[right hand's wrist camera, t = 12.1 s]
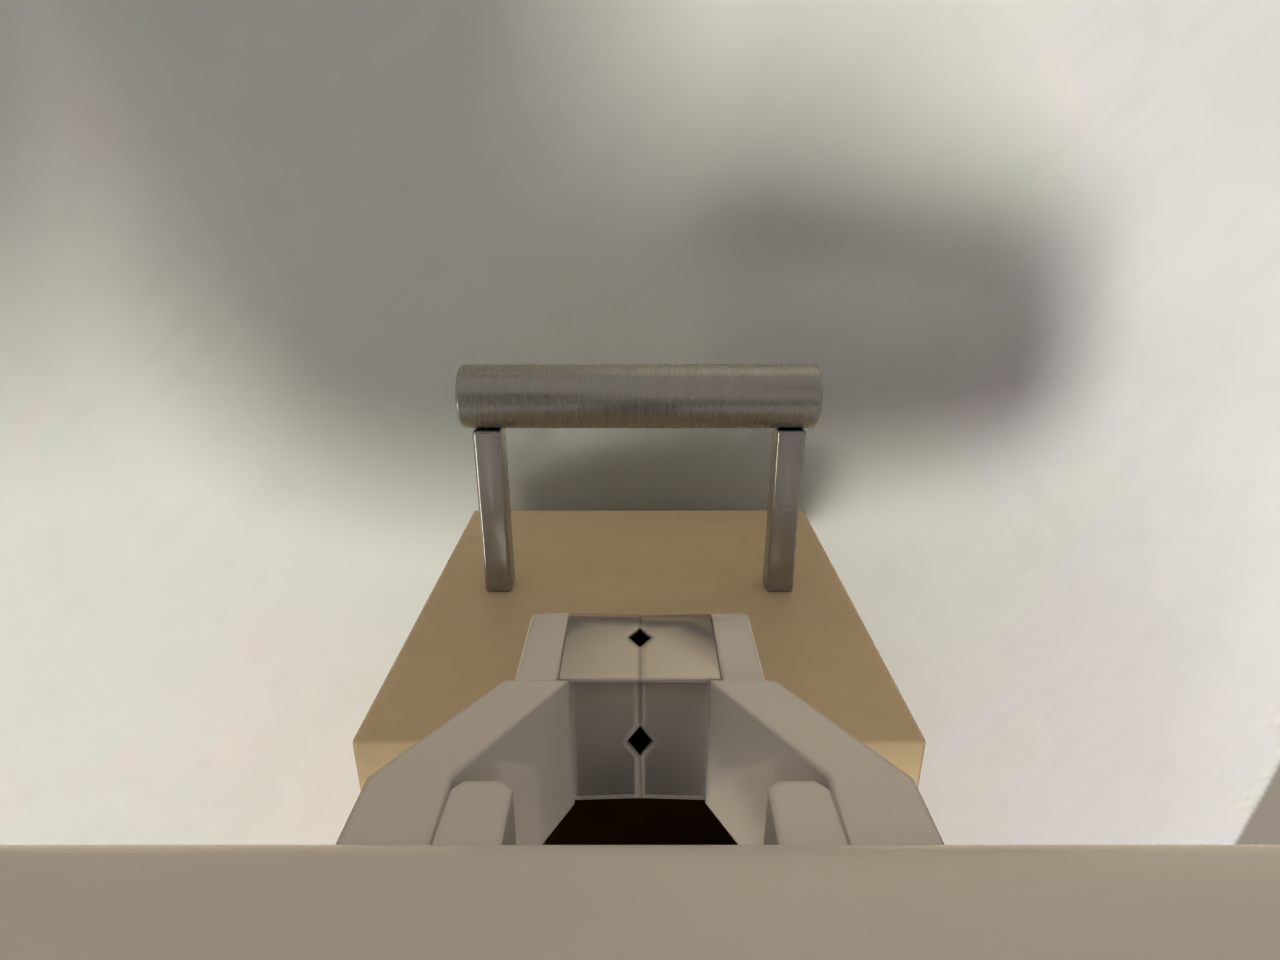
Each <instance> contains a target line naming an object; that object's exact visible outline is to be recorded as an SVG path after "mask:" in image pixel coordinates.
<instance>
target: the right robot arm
mask: <svg viewBox="0 0 1280 960" xmlns="http://www.w3.org/2000/svg"><path fill="white" fill-rule="evenodd" d="M624 798H655V799H691V800H705V803H706V804H707V806H708V807H709V808H710V810H711V811H712V812H713V813H714V815H715V816H716V817H717V818H718V820H719V821H720V822H721V824H722V825H723V826H724V827H725V829H726V830H727V831H728V832H729V834H730V835H731V836H732V838H733V839H734V840H735V841H736V843H737V844H738V845H542V844H543V843H544V842H545V841H546V839H547V838H548V837H549V836H550V834H551V833H552V832H553V830H554V829H555V828H556V827H557V825H558V824H559V823H560V822H561V820H562V819H563V818H564V817H565V815H566V814H567V813H568V811H569V810H570V809H571V808H572V806H573V805H574V804H575V800H589V799H624ZM0 960H1280V845H944V843H943V841H942V838H941V836H940V834H939V832H938V830H937V828H936V826H935V824H934V821H933V819H932V817H931V815H930V813H929V811H928V809H927V807H926V805H925V802H924V800H923V798H922V796H921V794H920V792H919V790H918V788H917V786H916V783H915V781H914V779H913V778H911V777H910V776H909V775H907V774H906V773H904V772H903V771H902V770H900V769H899V768H897V767H896V766H895V765H893V764H892V763H890V762H889V761H888V760H886V759H885V758H883V757H882V756H881V755H879V754H878V753H876V752H875V751H874V750H872V749H871V748H869V747H868V746H867V745H865V744H864V743H862V742H861V741H860V740H858V739H857V738H855V737H854V736H853V735H851V734H850V733H848V732H847V731H846V730H844V729H843V728H841V727H840V726H839V725H837V724H836V723H834V722H833V721H832V720H830V719H829V718H827V717H826V716H825V715H823V714H822V713H820V712H819V711H818V710H816V709H815V708H813V707H812V706H811V705H809V704H808V703H806V702H805V701H804V700H802V699H801V698H799V697H798V696H797V695H795V694H794V693H792V692H791V691H790V690H788V689H787V688H785V687H784V686H783V685H781V684H780V683H778V682H777V681H775V680H765V678H764V674H763V670H762V666H761V663H760V659H759V655H758V651H757V648H756V644H755V640H754V636H753V633H752V629H751V625H750V621H749V618H748V615H747V614H745V613H723V614H682V615H642V616H640V615H626V614H574V613H571V614H570V615H569V613H535V614H534V615H533V616H532V617H531V621H530V624H529V628H528V632H527V636H526V640H525V643H524V647H523V651H522V655H521V658H520V662H519V666H518V670H517V674H516V677H515V680H505V681H503V682H502V683H500V684H499V685H497V686H496V687H495V688H493V689H492V690H490V691H489V692H488V693H486V694H485V695H483V696H482V697H480V698H479V699H478V700H476V701H475V702H473V703H472V704H471V705H469V706H468V707H466V708H465V709H464V710H462V711H461V712H459V713H458V714H457V715H455V716H454V717H452V718H451V719H450V720H448V721H447V722H445V723H444V724H442V725H441V726H440V727H438V728H437V729H435V730H434V731H433V732H431V733H430V734H428V735H427V736H426V737H424V738H423V739H421V740H420V741H419V742H417V743H416V744H414V745H413V746H412V747H410V748H409V749H407V750H406V751H405V752H403V753H402V754H400V755H399V756H397V757H396V758H395V759H393V760H392V761H390V762H389V763H388V764H386V765H385V766H383V767H382V768H381V769H379V770H378V771H376V772H375V773H374V774H372V775H371V776H369V777H368V778H367V780H366V782H365V784H364V786H363V788H362V790H361V793H360V795H359V797H358V799H357V801H356V803H355V805H354V807H353V809H352V811H351V813H350V815H349V818H348V820H347V822H346V824H345V826H344V828H343V830H342V832H341V834H340V836H339V838H338V841H337V843H336V845H0Z"/></svg>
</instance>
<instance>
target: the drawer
mask: <svg viewBox="0 0 1280 960" xmlns="http://www.w3.org/2000/svg"><path fill="white" fill-rule="evenodd" d="M455 399H456V409H457V415H458V419H459V422H460V424H461V426H462V427H464V428H475V429H474V431H473V443H474V455H475V466H476V478H477V490H478V502H479V511H475V512H474V513H473V515H472V517H471V519H470V521H469V523H468V525H467V527H466V528H465V530H464V532H463V534H462V536H461V538H460V540H459V542H458V544H457V545H456V547H455V549H454V551H453V553H452V555H451V557H450V559H449V561H448V562H447V564H446V566H445V568H444V570H443V572H442V574H441V576H440V578H439V579H438V581H437V583H436V585H435V587H434V589H433V591H432V593H431V594H430V596H429V598H428V600H427V602H426V604H425V606H424V608H423V610H422V611H421V613H420V615H419V617H418V619H417V621H416V623H415V625H414V627H413V628H412V630H411V632H410V634H409V636H408V638H407V640H406V642H405V643H404V645H403V647H402V649H401V651H400V653H399V655H398V657H397V659H396V660H395V662H394V664H393V666H392V668H391V670H390V672H389V674H388V676H387V677H386V679H385V681H384V683H383V685H382V687H381V689H380V691H379V693H378V694H377V696H376V698H375V700H374V702H373V704H372V706H371V708H370V709H369V711H368V713H367V715H366V717H365V719H364V721H363V723H362V725H361V726H360V728H359V730H358V732H357V734H356V736H355V738H354V740H353V748H354V754H355V760H356V765H357V771H358V777H359V783H360V788H361V790H362V788H363V786H364V784H365V782H366V780H367V778H368V777H369V776H371V775H372V774H374V773H375V772H376V771H378V770H379V769H381V768H382V767H383V766H385V765H386V764H388V763H389V762H390V761H392V760H393V759H395V758H396V757H397V756H399V755H400V754H402V753H403V752H405V751H406V750H407V749H409V748H410V747H412V746H413V745H414V744H416V743H417V742H419V741H420V740H421V739H423V738H424V737H426V736H427V735H428V734H430V733H431V732H433V731H434V730H435V729H437V728H438V727H440V726H441V725H442V724H444V723H445V722H447V721H448V720H450V719H451V718H452V717H454V716H455V715H457V714H458V713H459V712H461V711H462V710H464V709H465V708H466V707H468V706H469V705H471V704H472V703H473V702H475V701H476V700H478V699H479V698H480V697H482V696H483V695H485V694H486V693H488V692H489V691H490V690H492V689H493V688H495V687H496V686H497V685H499V684H500V683H502V682H503V681H505V680H515V677H516V674H517V670H518V666H519V662H520V658H521V655H522V651H523V647H524V643H525V640H526V636H527V632H528V628H529V624H530V621H531V617H532V616H533V615H534V614H535V613H569V615H570V614H571V613H574V614H626V615H640V616H642V615H682V614H723V613H745V614H747V615H748V618H749V621H750V625H751V629H752V633H753V636H754V640H755V644H756V648H757V651H758V655H759V659H760V663H761V666H762V670H763V674H764V678H765V680H775V681H777V682H778V683H780V684H781V685H783V686H784V687H785V688H787V689H788V690H790V691H791V692H792V693H794V694H795V695H797V696H798V697H799V698H801V699H802V700H804V701H805V702H806V703H808V704H809V705H811V706H812V707H813V708H815V709H816V710H818V711H819V712H820V713H822V714H823V715H825V716H826V717H827V718H829V719H830V720H832V721H833V722H834V723H836V724H837V725H839V726H840V727H841V728H843V729H844V730H846V731H847V732H848V733H850V734H851V735H853V736H854V737H855V738H857V739H858V740H860V741H861V742H862V743H864V744H865V745H867V746H868V747H869V748H871V749H872V750H874V751H875V752H876V753H878V754H879V755H881V756H882V757H883V758H885V759H886V760H888V761H889V762H890V763H892V764H893V765H895V766H896V767H897V768H899V769H900V770H902V771H903V772H904V773H906V774H907V775H909V776H910V777H911V778H913V779H914V781H915V783H916V786H917V788H918V783H919V777H920V772H921V766H922V760H923V754H924V748H925V739H924V737H923V735H922V733H921V731H920V730H919V728H918V726H917V724H916V722H915V720H914V718H913V716H912V714H911V713H910V711H909V709H908V707H907V705H906V703H905V701H904V699H903V698H902V696H901V694H900V692H899V690H898V688H897V686H896V684H895V682H894V681H893V679H892V677H891V675H890V673H889V671H888V669H887V667H886V666H885V664H884V662H883V660H882V658H881V656H880V654H879V652H878V650H877V649H876V647H875V645H874V643H873V641H872V639H871V637H870V635H869V634H868V632H867V630H866V628H865V626H864V624H863V622H862V620H861V618H860V617H859V615H858V613H857V611H856V609H855V607H854V605H853V603H852V601H851V600H850V598H849V596H848V594H847V592H846V590H845V588H844V586H843V585H842V583H841V581H840V579H839V577H838V575H837V573H836V571H835V569H834V568H833V566H832V564H831V562H830V560H829V558H828V556H827V554H826V553H825V551H824V549H823V547H822V545H821V543H820V541H819V539H818V537H817V536H816V534H815V532H814V530H813V528H812V526H811V524H810V522H809V521H808V519H807V517H806V515H805V513H804V511H799V506H800V494H801V483H802V471H803V459H804V447H805V435H806V432H805V430H804V429H803V428H814V427H816V426H817V424H818V422H819V419H820V415H821V410H822V400H823V386H822V378H821V373H820V370H819V368H818V366H816V365H462V366H460V368H459V370H458V373H457V378H456V387H455ZM505 428H773V435H772V450H771V465H770V480H769V495H768V509H767V511H511V509H510V495H509V480H508V465H507V451H506V436H505ZM542 845H738V844H737V843H736V841H735V840H734V839H733V838H732V836H731V835H730V834H729V832H728V831H727V830H726V829H725V827H724V826H723V825H722V824H721V822H720V821H719V820H718V818H717V817H716V816H715V815H714V813H713V812H712V811H711V810H710V808H709V807H708V806H707V804H706V803H705V800H691V799H655V798H624V799H589V800H575V804H574V805H573V806H572V808H571V809H570V810H569V811H568V813H567V814H566V815H565V817H564V818H563V819H562V820H561V822H560V823H559V824H558V825H557V827H556V828H555V829H554V830H553V832H552V833H551V834H550V836H549V837H548V838H547V839H546V841H545V842H544V843H543V844H542Z"/></svg>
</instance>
